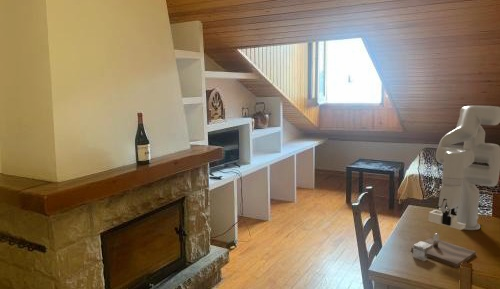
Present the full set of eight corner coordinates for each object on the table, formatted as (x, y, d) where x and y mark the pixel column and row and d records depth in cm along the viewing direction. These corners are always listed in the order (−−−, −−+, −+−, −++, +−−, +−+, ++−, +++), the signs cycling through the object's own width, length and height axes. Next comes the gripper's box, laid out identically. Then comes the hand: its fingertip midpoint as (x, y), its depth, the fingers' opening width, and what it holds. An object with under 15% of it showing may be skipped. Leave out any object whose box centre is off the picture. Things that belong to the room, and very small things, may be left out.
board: (431, 240, 175) (431, 237, 175) (475, 254, 160) (475, 251, 160) (411, 250, 165) (411, 247, 165) (456, 267, 150) (456, 264, 150)
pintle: (434, 245, 167) (435, 232, 166) (439, 246, 165) (440, 233, 164) (432, 246, 166) (433, 233, 165) (436, 247, 164) (437, 234, 163)
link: (428, 221, 164) (429, 212, 163) (434, 218, 167) (435, 209, 166) (460, 230, 154) (460, 221, 153) (466, 227, 157) (466, 218, 156)
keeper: (420, 252, 163) (421, 240, 162) (431, 257, 159) (432, 244, 158) (412, 257, 159) (413, 244, 158) (424, 261, 156) (425, 248, 155)
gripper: (452, 175, 164) (449, 216, 168) (433, 182, 154) (429, 225, 158) (471, 179, 159) (467, 221, 162) (452, 186, 149) (448, 231, 152)
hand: (449, 222), depth 160 cm, fingers closed on link, 4 cm apart
